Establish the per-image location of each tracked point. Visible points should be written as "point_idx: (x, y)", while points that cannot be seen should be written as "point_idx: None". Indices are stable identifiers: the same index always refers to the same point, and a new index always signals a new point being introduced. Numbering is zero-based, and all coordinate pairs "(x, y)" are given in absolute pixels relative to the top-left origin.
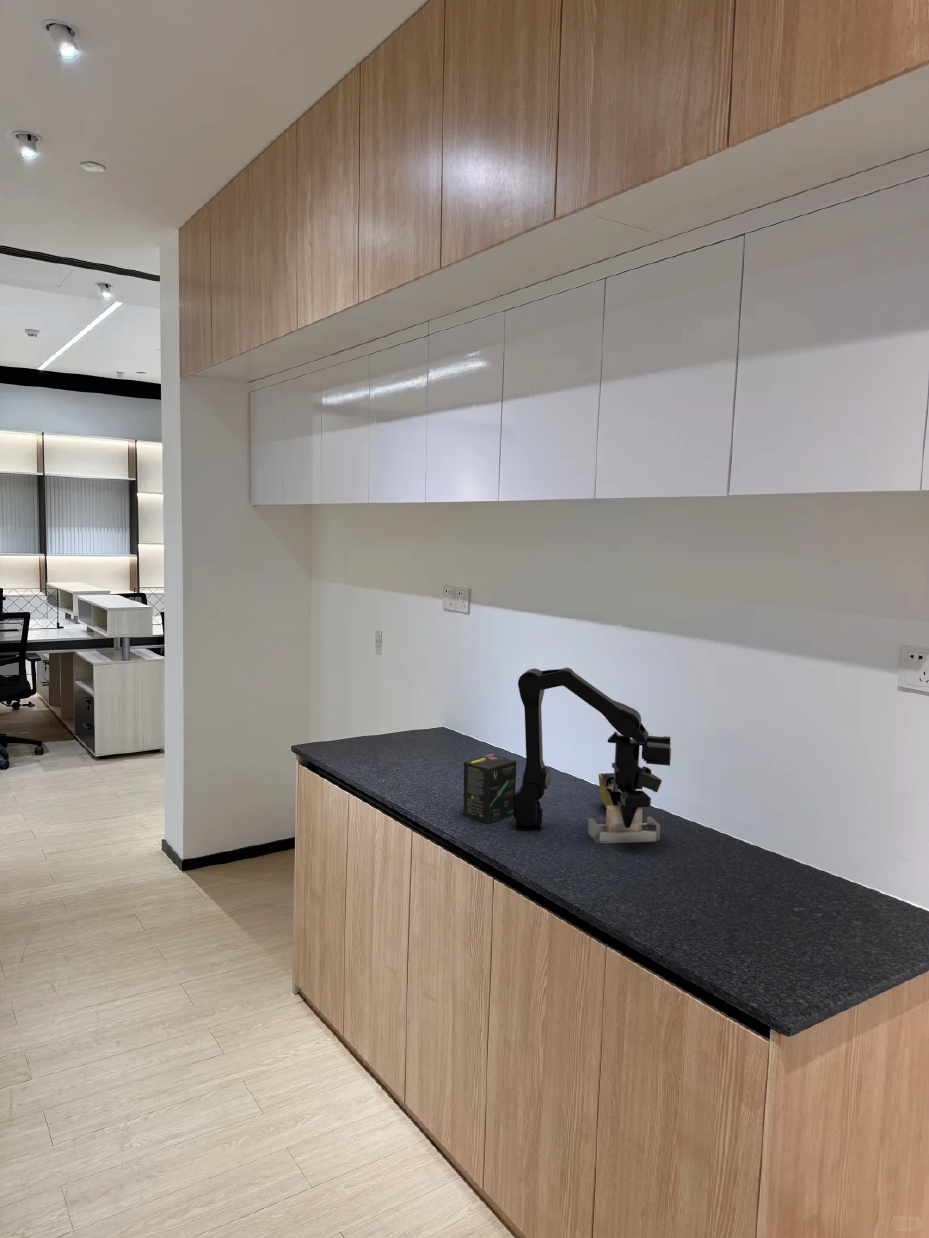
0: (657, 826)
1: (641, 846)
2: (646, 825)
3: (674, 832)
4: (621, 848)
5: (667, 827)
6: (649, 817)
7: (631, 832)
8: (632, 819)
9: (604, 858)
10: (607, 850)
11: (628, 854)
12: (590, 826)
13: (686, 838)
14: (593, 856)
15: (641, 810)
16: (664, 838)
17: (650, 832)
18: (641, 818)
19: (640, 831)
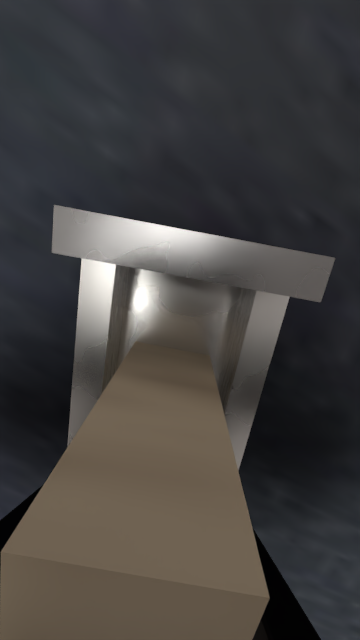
0: (318, 287)
1: (296, 397)
2: (116, 274)
3: (153, 33)
4: (281, 492)
5: (41, 26)
6: (79, 238)
7: (237, 461)
8: (290, 592)
9: (347, 590)
10: (278, 549)
11: (356, 498)
12: None
13: (293, 6)
14: (311, 612)
15: (255, 570)
16: (237, 194)
17: (276, 336)
18: (230, 447)
19: (241, 399)
